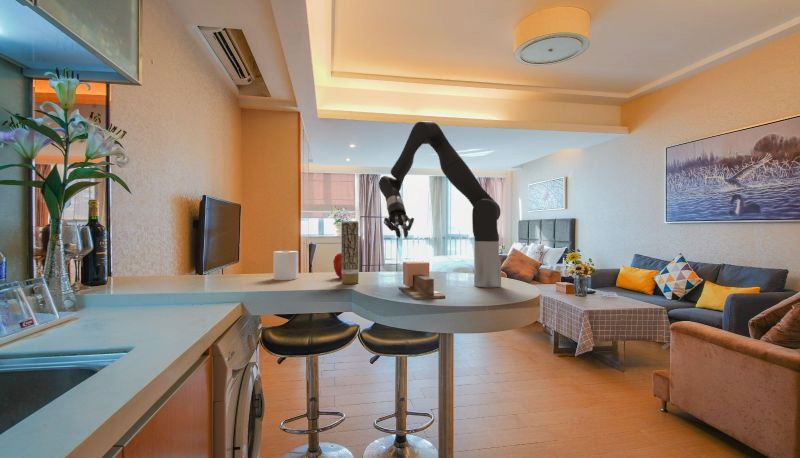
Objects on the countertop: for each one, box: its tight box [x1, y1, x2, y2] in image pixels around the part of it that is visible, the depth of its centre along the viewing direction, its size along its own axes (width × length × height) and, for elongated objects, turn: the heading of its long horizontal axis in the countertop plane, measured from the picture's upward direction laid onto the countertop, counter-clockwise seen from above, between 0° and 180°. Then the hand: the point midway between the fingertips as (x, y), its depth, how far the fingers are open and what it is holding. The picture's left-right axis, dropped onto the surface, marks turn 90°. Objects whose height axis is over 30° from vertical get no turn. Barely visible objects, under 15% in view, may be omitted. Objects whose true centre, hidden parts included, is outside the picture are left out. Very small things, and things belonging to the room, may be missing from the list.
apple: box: [332, 252, 342, 279], centre depth 157 cm, size 9×9×12 cm
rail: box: [399, 275, 446, 300], centre depth 120 cm, size 10×20×6 cm, turn 14°
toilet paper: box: [272, 250, 299, 281], centre depth 155 cm, size 10×10×12 cm
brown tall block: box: [341, 220, 360, 285], centre depth 142 cm, size 7×7×25 cm
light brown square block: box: [402, 260, 430, 287], centre depth 125 cm, size 8×6×8 cm
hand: (402, 236), depth 143 cm, fingers closed
